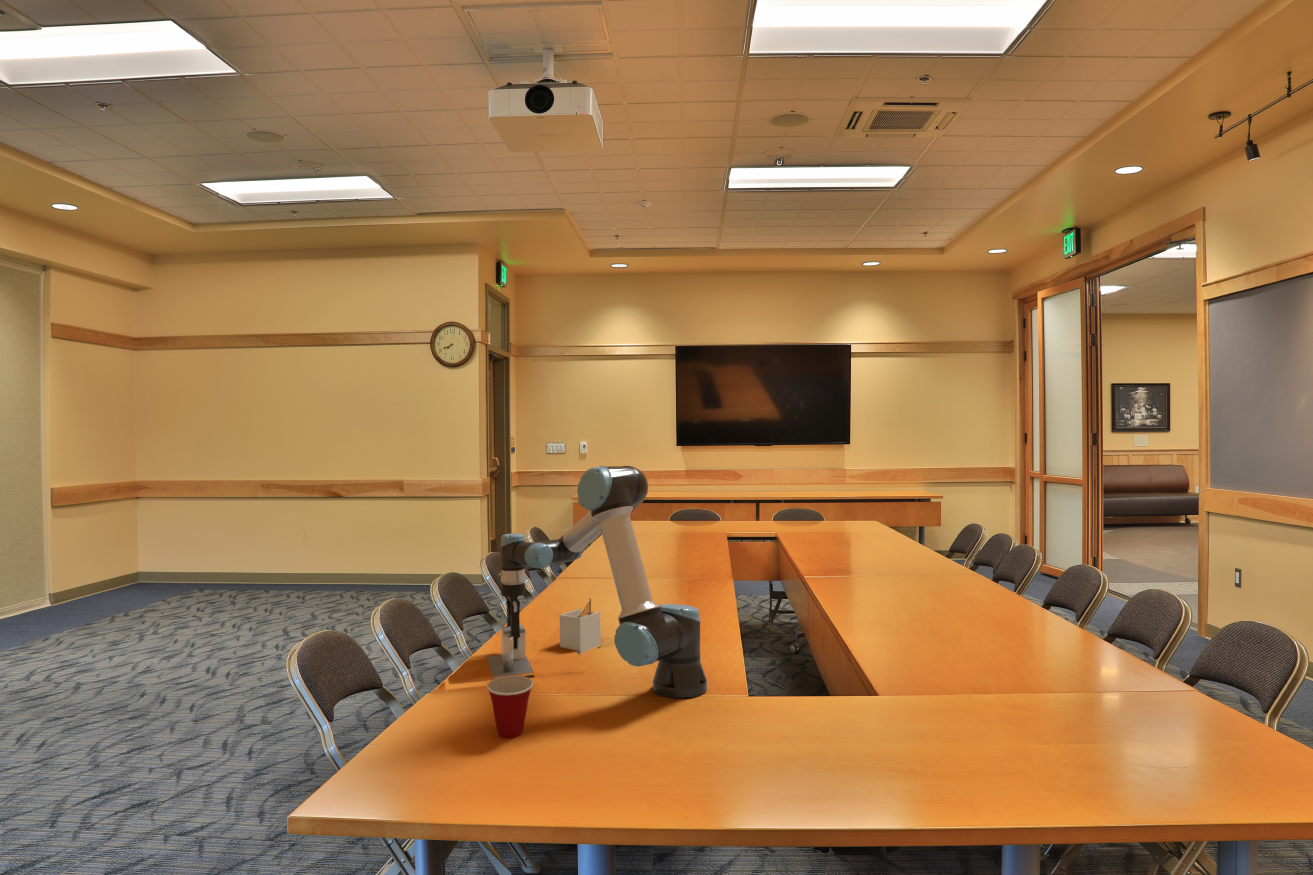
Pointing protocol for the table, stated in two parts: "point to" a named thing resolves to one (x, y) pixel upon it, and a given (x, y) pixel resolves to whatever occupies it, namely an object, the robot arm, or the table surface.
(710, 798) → the table surface
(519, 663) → the post base
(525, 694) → the plastic cup
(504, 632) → the white block
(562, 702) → the table surface
